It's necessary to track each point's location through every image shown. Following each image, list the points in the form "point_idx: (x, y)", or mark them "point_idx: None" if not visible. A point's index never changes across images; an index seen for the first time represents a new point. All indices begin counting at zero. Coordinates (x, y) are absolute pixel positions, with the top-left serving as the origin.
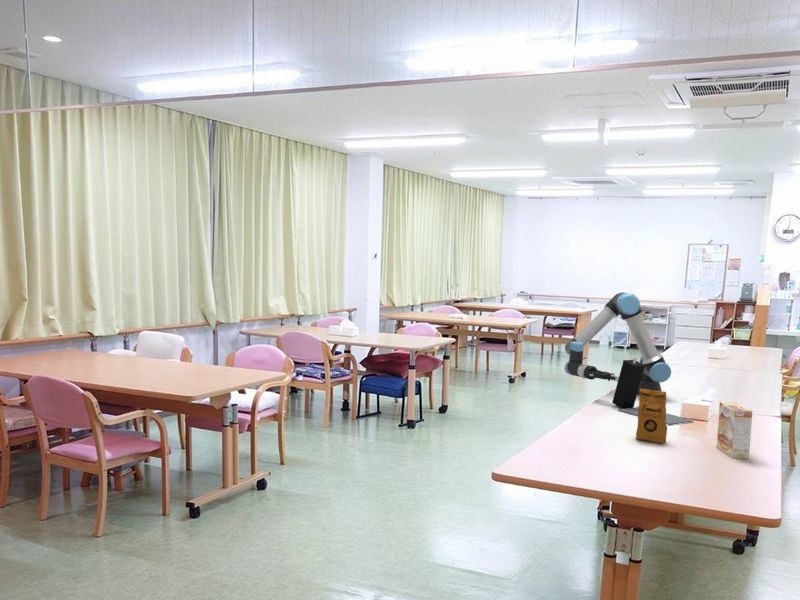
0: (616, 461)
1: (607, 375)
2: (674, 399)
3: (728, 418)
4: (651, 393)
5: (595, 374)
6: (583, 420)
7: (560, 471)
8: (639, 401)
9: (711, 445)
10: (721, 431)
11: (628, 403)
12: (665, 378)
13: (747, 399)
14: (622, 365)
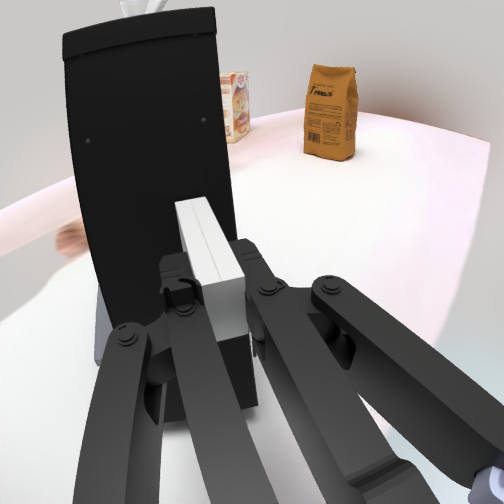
0: (400, 134)
1: (293, 304)
2: None
3: (244, 87)
4: (334, 72)
5: (477, 406)
6: (448, 223)
7: (448, 135)
8: (356, 88)
9: (234, 146)
10: (239, 112)
11: None
12: None
13: None
14: (217, 56)
